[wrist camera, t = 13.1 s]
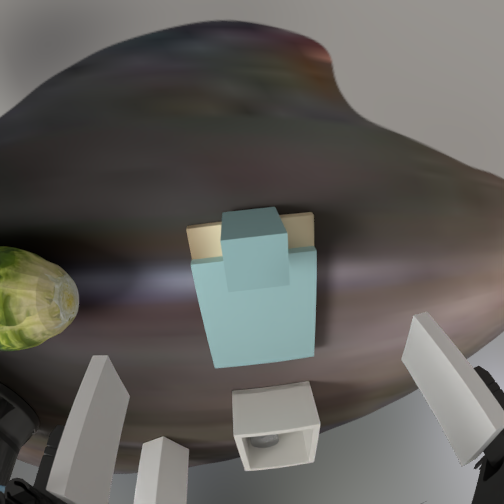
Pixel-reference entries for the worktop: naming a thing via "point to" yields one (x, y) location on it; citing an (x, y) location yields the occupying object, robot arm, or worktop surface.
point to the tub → (276, 425)
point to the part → (264, 441)
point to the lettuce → (33, 299)
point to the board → (208, 235)
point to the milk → (162, 473)
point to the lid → (257, 292)
